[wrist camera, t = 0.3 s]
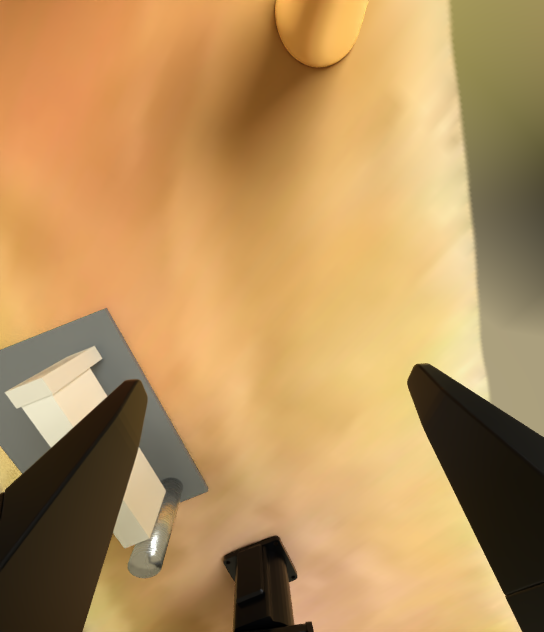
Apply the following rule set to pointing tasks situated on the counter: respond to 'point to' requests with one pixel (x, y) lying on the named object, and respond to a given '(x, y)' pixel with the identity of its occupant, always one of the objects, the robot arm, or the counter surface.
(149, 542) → the gate post
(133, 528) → the cream long block
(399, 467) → the counter surface
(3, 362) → the mat
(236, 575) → the robot arm
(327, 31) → the beer glass
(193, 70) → the counter surface
